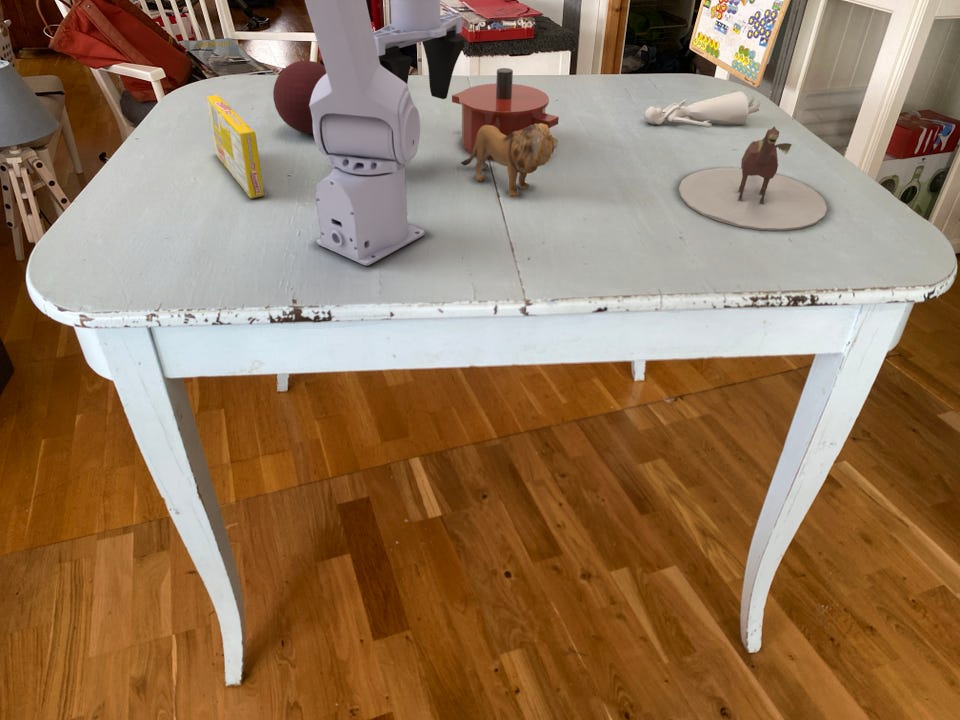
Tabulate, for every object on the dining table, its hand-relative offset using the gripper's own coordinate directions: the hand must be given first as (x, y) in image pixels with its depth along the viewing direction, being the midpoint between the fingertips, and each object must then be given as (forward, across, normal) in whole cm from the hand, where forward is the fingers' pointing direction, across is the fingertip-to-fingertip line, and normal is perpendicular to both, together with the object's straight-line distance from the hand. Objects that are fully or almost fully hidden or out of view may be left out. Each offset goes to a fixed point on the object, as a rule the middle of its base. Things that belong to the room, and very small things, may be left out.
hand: (419, 104), depth 88 cm
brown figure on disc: (+10, +22, -36) cm, 44 cm away
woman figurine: (+10, +44, -19) cm, 49 cm away
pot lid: (+3, +16, -2) cm, 16 cm away
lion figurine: (+10, +5, -10) cm, 15 cm away
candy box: (+10, -15, +18) cm, 26 cm away
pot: (+9, +16, -2) cm, 18 cm away
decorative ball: (+10, +2, +23) cm, 25 cm away
